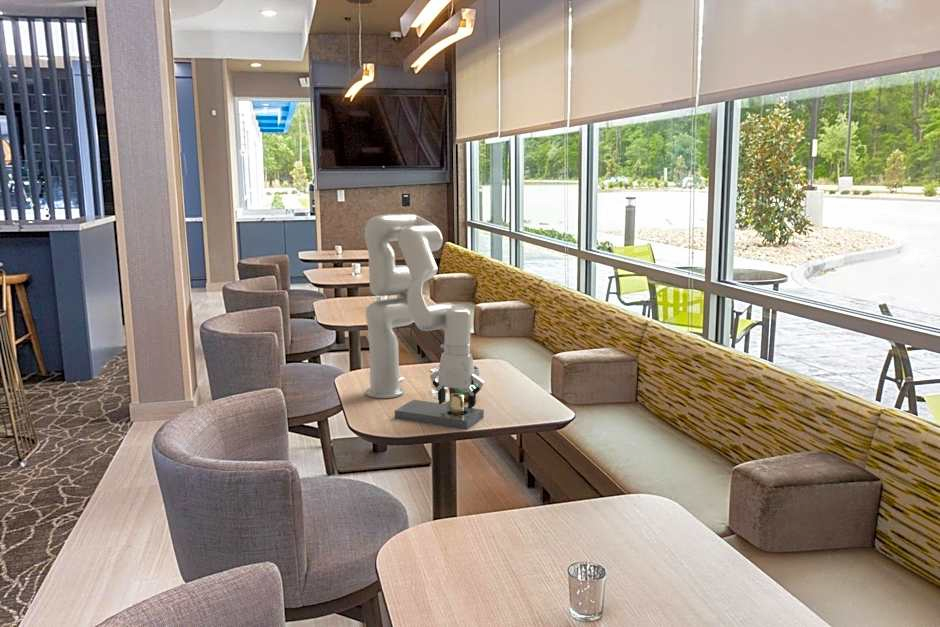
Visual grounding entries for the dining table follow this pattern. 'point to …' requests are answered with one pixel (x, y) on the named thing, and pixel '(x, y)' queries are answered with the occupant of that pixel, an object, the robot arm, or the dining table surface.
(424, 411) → the jig plate
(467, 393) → the food container
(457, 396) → the brass sleeve
